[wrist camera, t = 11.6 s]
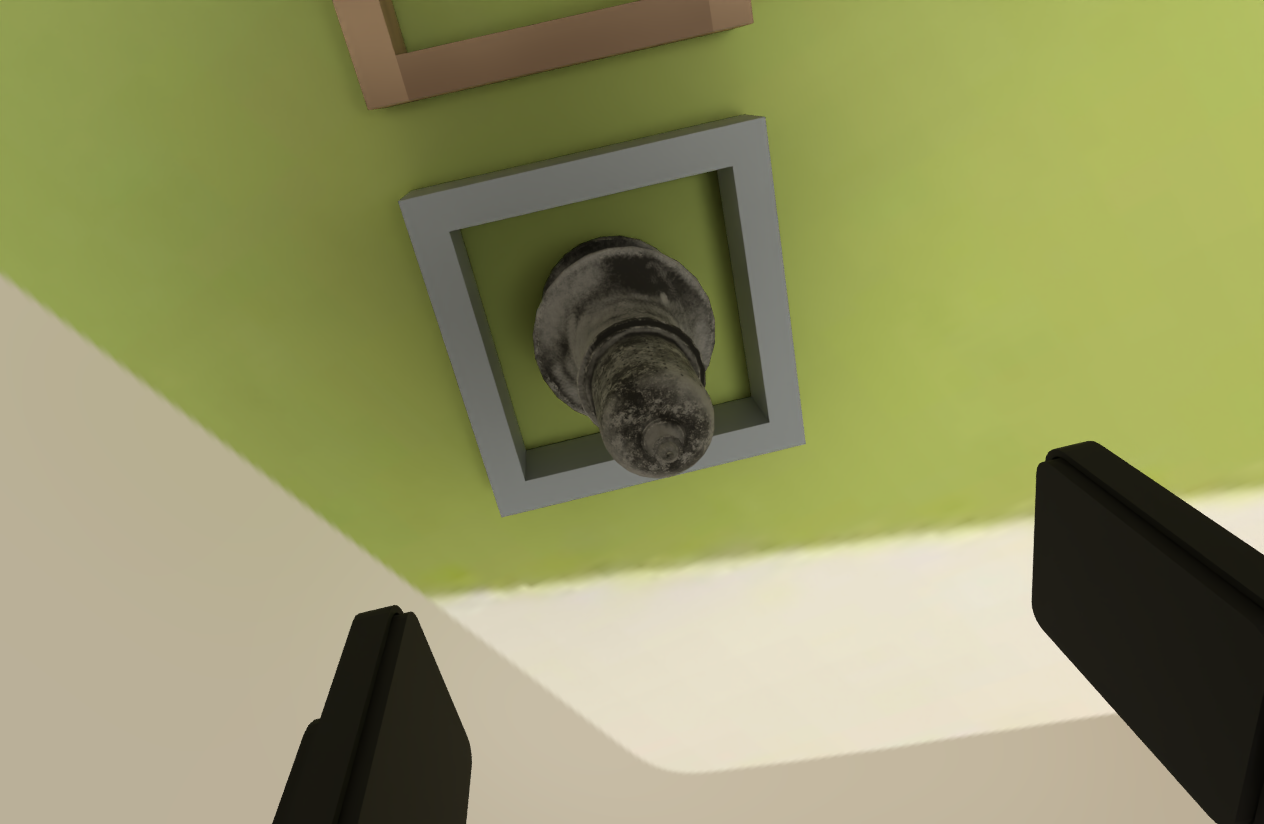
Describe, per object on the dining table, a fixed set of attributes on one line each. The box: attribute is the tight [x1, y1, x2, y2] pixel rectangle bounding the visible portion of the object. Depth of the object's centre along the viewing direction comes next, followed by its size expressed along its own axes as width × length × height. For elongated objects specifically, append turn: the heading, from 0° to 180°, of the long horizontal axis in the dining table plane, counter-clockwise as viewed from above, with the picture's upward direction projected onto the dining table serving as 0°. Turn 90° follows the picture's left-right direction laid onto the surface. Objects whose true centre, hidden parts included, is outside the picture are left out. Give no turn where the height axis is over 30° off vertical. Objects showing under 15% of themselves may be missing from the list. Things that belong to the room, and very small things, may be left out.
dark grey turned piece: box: [533, 236, 715, 478], centre depth 22 cm, size 6×6×12 cm
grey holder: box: [398, 114, 806, 517], centre depth 26 cm, size 11×11×2 cm
